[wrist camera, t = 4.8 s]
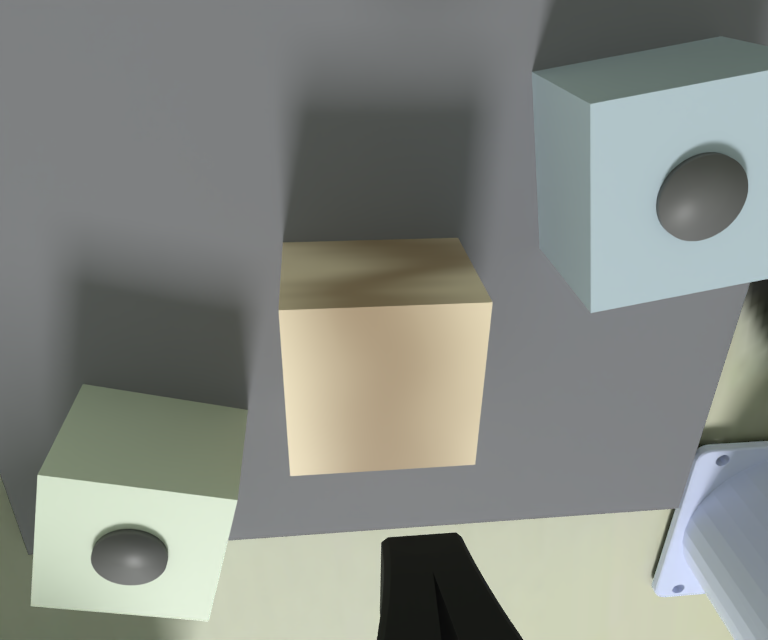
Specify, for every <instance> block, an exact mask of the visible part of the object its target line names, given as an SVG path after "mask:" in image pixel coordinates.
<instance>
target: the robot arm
mask: <svg viewBox="0 0 768 640" xmlns="http://www.w3.org/2000/svg"><path fill="white" fill-rule="evenodd" d="M720 456H721V457H720ZM652 588H653V590H654V592H655V593H656V595H657V596H660V597H671V596H683V595H694V594H706V595H707V597H708V598H709V600H710V602H711V603H712V605H713V606H714V608H715V610H716V611H717V613H718V614H719V616H720V618H721V619H722V621H723V622H724V624H725V626H726V627H727V629H728V630H729V632H730V634H731V635H732V637H733V638H734V640H768V441H758V442H742V443H725V444H709V445H704V446H701V447H699V448H698V449H697V451H696V454H695V458H694V461H693V464H692V467H691V470H690V473H689V476H688V480H687V483H686V486H685V489H684V492H683V495H682V499H681V502H680V505H679V508H676V509H675V512H674V515H673V518H672V521H671V525H670V528H669V531H668V534H667V537H666V541H665V544H664V547H663V550H662V553H661V556H660V560H659V563H658V566H657V569H656V572H655V576H654V579H653V582H652ZM377 640H523V639H522V637H521V636H520V634H519V633H518V631H517V630H516V628H515V627H514V625H513V624H512V622H511V621H510V619H509V618H508V616H507V615H506V613H505V612H504V610H503V609H502V607H501V606H500V604H499V602H498V601H497V599H496V598H495V596H494V594H493V593H492V591H491V589H490V588H489V586H488V584H487V583H486V581H485V580H484V578H483V576H482V574H481V573H480V571H479V569H478V567H477V566H476V564H475V562H474V560H473V558H472V556H471V555H470V553H469V551H468V549H467V547H466V545H465V543H464V541H463V539H462V537H461V536H460V535H458V534H457V533H443V534H429V535H416V536H402V537H388V538H387V539H385V540H384V541H383V542H382V543H381V590H380V623H379V629H378V636H377Z"/></svg>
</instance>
